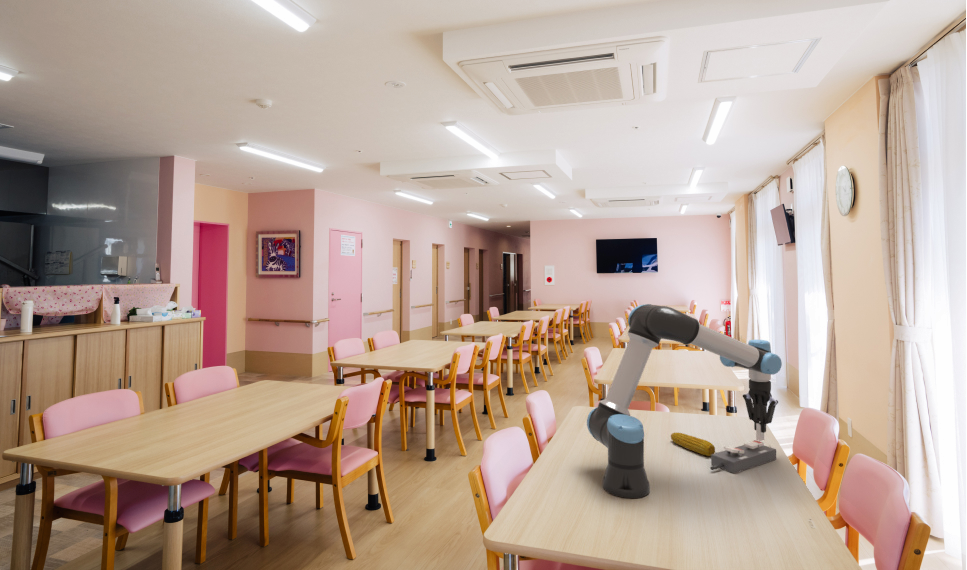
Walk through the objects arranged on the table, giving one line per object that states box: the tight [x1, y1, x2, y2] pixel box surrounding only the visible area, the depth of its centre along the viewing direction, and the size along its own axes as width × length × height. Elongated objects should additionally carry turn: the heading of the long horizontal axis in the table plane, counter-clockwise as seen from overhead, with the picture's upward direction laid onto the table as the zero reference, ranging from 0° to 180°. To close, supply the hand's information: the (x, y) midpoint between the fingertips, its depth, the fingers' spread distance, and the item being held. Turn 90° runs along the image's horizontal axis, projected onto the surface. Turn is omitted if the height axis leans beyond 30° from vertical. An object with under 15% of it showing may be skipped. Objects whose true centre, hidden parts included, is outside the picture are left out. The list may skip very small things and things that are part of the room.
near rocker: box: [723, 446, 744, 454], centre depth 177 cm, size 7×4×1 cm, turn 118°
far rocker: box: [743, 439, 765, 449], centre depth 182 cm, size 7×4×1 cm, turn 118°
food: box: [670, 432, 716, 457], centre depth 194 cm, size 21×6×6 cm, turn 25°
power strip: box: [709, 444, 777, 474], centre depth 178 cm, size 32×9×5 cm, turn 118°
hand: (760, 439), depth 184 cm, fingers closed
